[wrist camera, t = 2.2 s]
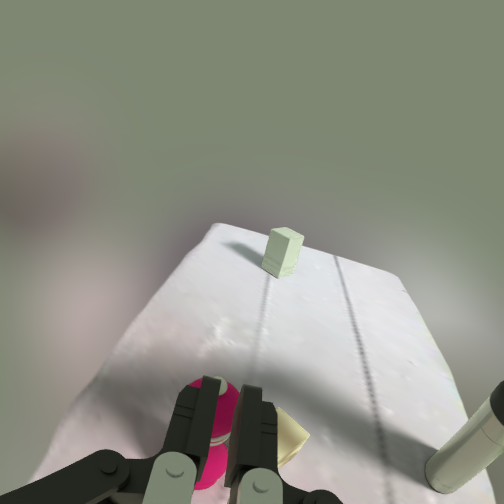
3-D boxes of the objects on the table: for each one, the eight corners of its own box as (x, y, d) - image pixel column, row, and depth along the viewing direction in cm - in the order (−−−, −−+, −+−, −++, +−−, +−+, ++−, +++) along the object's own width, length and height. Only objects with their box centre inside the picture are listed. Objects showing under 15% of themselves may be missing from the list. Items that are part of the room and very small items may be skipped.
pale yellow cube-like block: (263, 430, 41) (277, 404, 38) (292, 458, 37) (310, 434, 34) (233, 447, 37) (244, 423, 34) (263, 478, 33) (278, 457, 30)
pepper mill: (160, 454, 33) (165, 355, 25) (209, 444, 37) (238, 346, 29) (178, 498, 27) (193, 421, 20) (231, 485, 31) (275, 401, 23)
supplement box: (293, 274, 93) (305, 236, 88) (277, 279, 88) (290, 238, 83) (275, 263, 98) (286, 226, 93) (259, 267, 93) (270, 228, 88)
